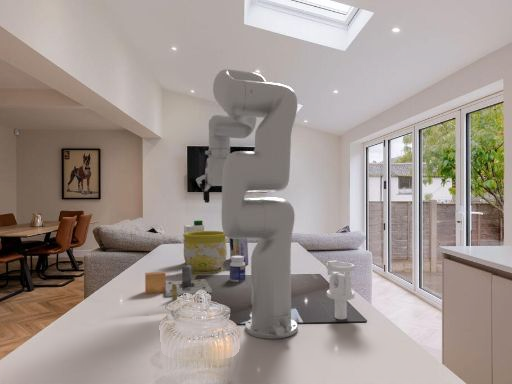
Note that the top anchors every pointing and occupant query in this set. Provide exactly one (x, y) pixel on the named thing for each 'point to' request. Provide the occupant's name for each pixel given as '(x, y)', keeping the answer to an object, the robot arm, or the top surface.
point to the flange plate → (158, 284)
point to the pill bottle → (237, 269)
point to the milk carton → (194, 227)
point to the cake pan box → (239, 248)
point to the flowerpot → (205, 251)
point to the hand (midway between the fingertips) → (219, 202)
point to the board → (183, 280)
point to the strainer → (340, 286)
